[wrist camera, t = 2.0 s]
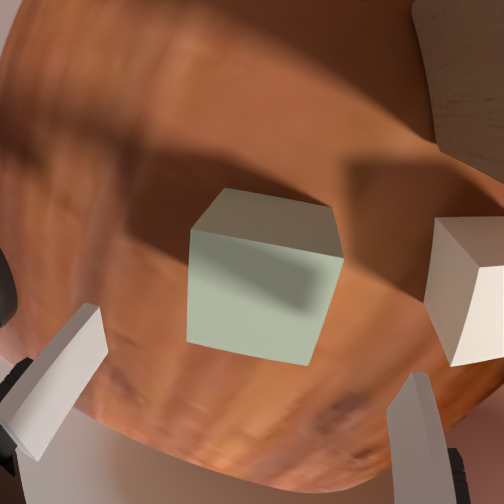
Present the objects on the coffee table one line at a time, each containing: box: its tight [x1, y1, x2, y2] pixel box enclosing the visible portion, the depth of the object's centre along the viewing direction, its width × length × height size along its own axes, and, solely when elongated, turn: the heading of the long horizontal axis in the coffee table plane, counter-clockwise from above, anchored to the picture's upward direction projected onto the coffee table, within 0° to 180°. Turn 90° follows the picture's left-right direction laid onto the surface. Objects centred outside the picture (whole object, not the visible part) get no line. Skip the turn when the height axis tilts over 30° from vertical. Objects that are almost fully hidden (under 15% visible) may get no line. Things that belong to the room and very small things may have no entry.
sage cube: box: [187, 188, 344, 366], centre depth 19 cm, size 7×7×7 cm
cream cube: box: [423, 216, 504, 367], centre depth 17 cm, size 7×7×7 cm
